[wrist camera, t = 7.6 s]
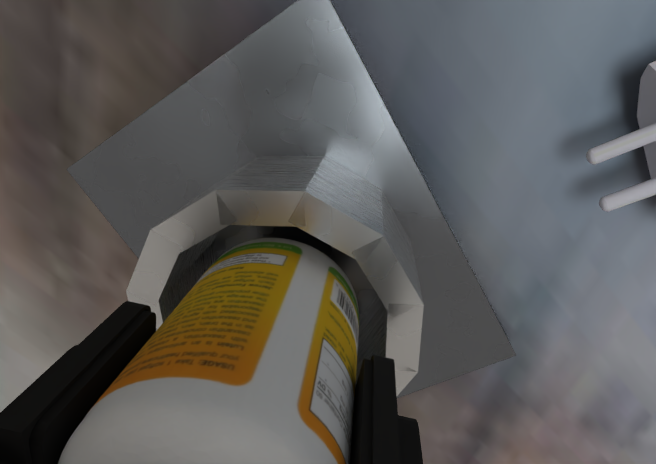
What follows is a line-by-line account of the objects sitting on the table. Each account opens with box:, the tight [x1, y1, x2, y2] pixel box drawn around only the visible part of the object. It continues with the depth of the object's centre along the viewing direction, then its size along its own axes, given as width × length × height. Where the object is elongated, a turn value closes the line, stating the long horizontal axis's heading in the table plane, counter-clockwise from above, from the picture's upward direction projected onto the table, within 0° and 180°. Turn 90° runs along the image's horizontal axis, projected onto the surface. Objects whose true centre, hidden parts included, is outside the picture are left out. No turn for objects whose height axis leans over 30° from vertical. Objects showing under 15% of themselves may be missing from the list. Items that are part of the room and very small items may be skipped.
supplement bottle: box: [58, 238, 359, 464], centre depth 9 cm, size 5×5×10 cm
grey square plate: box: [67, 0, 516, 398], centre depth 15 cm, size 16×12×6 cm
